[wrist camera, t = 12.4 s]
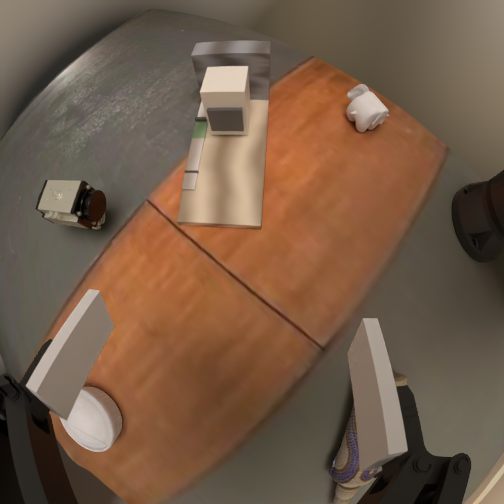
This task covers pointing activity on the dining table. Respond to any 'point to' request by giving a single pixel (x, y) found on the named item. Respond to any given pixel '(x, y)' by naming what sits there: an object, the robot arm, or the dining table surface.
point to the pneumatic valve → (72, 204)
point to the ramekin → (94, 420)
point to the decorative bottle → (352, 459)
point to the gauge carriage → (226, 100)
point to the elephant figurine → (365, 108)
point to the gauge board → (228, 146)
